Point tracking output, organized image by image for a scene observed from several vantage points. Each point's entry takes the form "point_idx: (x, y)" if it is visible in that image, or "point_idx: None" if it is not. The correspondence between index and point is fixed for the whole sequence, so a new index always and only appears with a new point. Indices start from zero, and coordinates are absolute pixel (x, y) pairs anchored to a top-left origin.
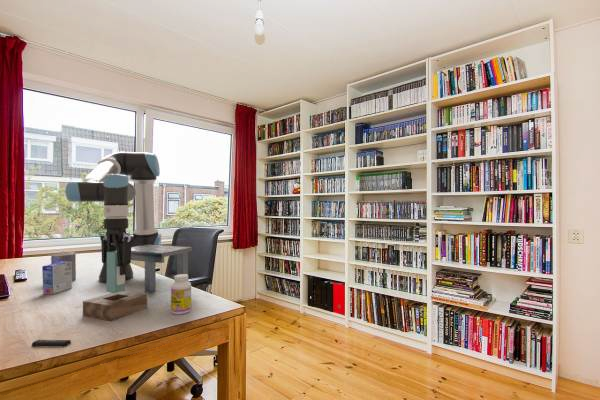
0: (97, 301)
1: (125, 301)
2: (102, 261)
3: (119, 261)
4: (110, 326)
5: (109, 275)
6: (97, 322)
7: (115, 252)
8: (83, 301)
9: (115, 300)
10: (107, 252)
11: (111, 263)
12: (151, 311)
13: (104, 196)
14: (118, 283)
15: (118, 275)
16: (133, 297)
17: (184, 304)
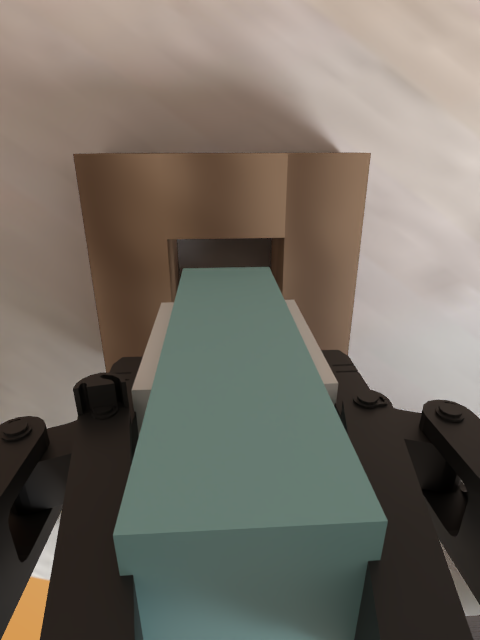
0: (260, 185)
1: (89, 261)
2: (449, 406)
3: (97, 441)
4: (26, 92)
5: (249, 315)
6: (157, 108)
7: (130, 554)
8: (362, 153)
9: (165, 247)
10: (362, 515)
11: (222, 385)
12: (52, 336)
13: None
14: (159, 310)
15: (151, 342)
16: (118, 332)
17: None
